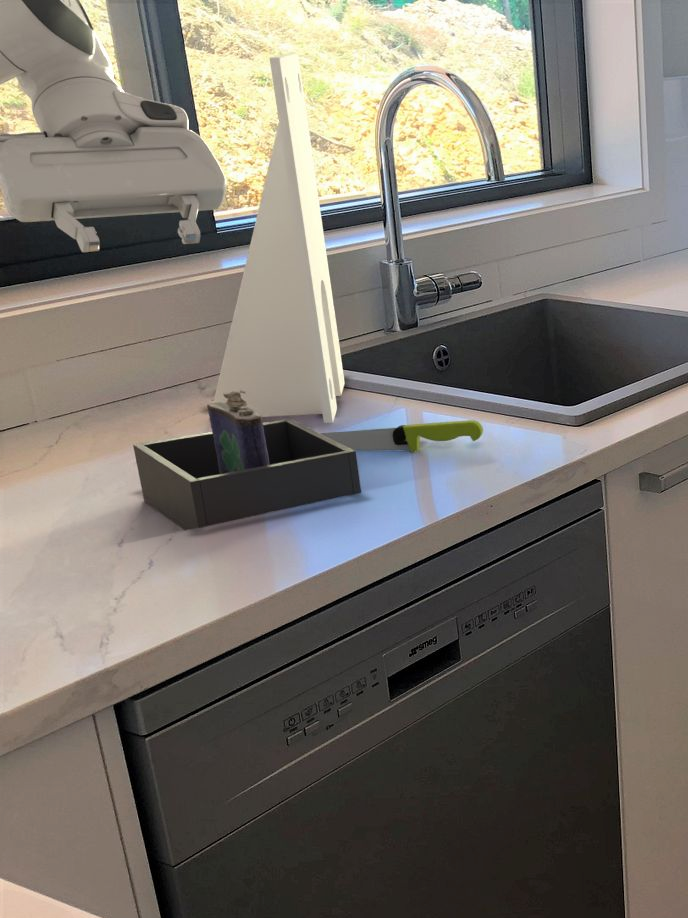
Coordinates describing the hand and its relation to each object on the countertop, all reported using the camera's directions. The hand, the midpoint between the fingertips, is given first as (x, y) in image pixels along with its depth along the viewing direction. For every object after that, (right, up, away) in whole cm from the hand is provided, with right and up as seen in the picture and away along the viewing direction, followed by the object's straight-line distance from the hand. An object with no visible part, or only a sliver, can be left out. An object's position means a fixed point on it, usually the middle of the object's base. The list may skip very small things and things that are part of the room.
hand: (143, 243), depth 137 cm
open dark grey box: (+11, -26, +1) cm, 28 cm away
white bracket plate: (-1, -10, +35) cm, 37 cm away
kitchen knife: (+18, -18, +18) cm, 31 cm away
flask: (+11, -25, 0) cm, 27 cm away
